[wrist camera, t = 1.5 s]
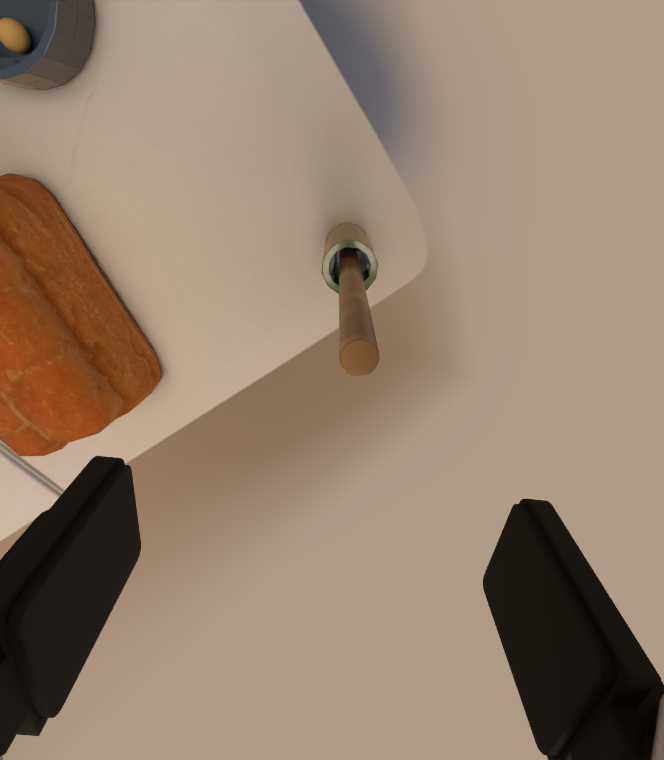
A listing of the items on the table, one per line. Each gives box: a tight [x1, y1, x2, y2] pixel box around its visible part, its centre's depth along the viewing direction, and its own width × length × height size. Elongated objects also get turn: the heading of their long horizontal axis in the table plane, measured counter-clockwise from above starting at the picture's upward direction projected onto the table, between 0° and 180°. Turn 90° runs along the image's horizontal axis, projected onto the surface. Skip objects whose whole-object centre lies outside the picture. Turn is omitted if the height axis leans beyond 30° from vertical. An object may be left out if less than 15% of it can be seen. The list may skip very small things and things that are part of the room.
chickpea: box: [0, 18, 31, 53], centre depth 37 cm, size 2×2×2 cm
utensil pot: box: [322, 223, 378, 294], centre depth 41 cm, size 5×5×12 cm
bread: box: [0, 174, 162, 456], centre depth 43 cm, size 14×27×15 cm, turn 22°
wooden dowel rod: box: [336, 247, 379, 376], centre depth 32 cm, size 2×2×30 cm
